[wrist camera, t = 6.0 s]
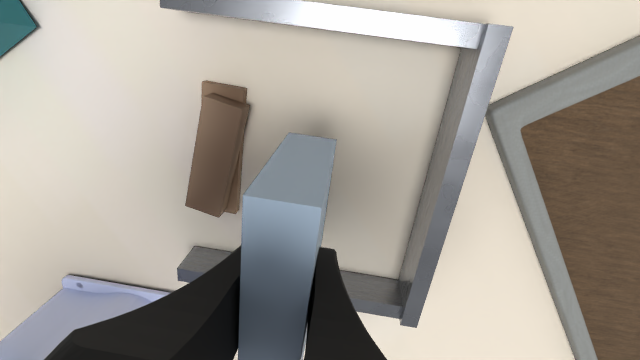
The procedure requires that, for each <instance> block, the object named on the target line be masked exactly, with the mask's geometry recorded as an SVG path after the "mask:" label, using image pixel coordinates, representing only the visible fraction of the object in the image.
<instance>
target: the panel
mask: <svg viewBox="0 0 640 360" xmlns="http://www.w3.org/2000/svg"><path fill="white" fill-rule="evenodd" d="M336 141H337V140H335V139H329V138H322V137H315V136H309V135H302V134H295V133H288V135H287V136H286V137H285V139H284V140H283V141H282V143H281V144H280V146H279V147H278V148H277V150H276V151H275V152H274V154H273V155H272V156H271V158H270V159H269V161H268V162H267V163H266V165H265V166H264V167H263V169H262V170H261V171H260V173H259V174H258V175H257V177H256V178H255V180H254V181H253V182H252V184H251V185H250V186H249V188H248V189H247V190H246V192H245V193H244V195H243V209H242V242H241V276H240V309H239V342H238V360H303V355H304V350H305V344H306V336H307V322H308V315H309V308H310V301H311V294H312V287H313V280H314V273H315V266H316V260H317V255H318V251H319V247H321V243H322V236H323V229H324V222H325V215H326V209H327V202H328V195H329V188H330V181H331V175H332V168H333V161H334V154H335V147H336Z"/></svg>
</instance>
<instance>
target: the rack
mask: <svg viewBox="0 0 640 360" xmlns="http://www.w3.org/2000/svg"><path fill="white" fill-rule="evenodd" d="M160 8H167V9H173V10H179V11H186V12H193V13H201V14H208V15H216V16H224V17H231V18H239V19H247V20H254V21H262V22H270V23H277V24H285V25H292V26H300V27H308V28H315V29H323V30H331V31H338V32H346V33H354V34H361V35H369V36H376V37H384V38H392V39H399V40H407V41H415V42H422V43H430V44H438V45H445V46H453V47H460V48H461V51H460V55H459V59H458V62H457V66H456V70H455V73H454V77H453V81H452V84H451V88H450V92H449V96H448V99H447V103H446V107H445V110H444V114H443V118H442V121H441V125H440V129H439V132H438V136H437V140H436V143H435V147H434V151H433V154H432V158H431V162H430V166H429V169H428V173H427V177H426V180H425V184H424V188H423V191H422V195H421V199H420V202H419V206H418V210H417V213H416V217H415V221H414V225H413V228H412V232H411V236H410V239H409V243H408V247H407V250H406V254H405V258H404V261H403V265H402V269H401V272H400V276H399V280H395V279H389V278H383V277H377V276H371V275H365V274H359V273H353V272H347V271H341V270H340V273H341V276H342V279H343V282H344V285H345V288H346V290H347V293H348V295H349V297H350V300H351V302H352V304H353V306H354V308H355V310H356V311H357V312H363V313H369V314H375V315H380V316H386V317H392V318H398V319H399V320H400V325H403V326H409V327H415V328H417V325H418V322H419V318H420V315H421V312H422V309H423V306H424V303H425V300H426V297H427V294H428V291H429V287H430V284H431V281H432V278H433V275H434V272H435V269H436V266H437V263H438V260H439V256H440V253H441V250H442V247H443V244H444V241H445V238H446V235H447V232H448V229H449V225H450V222H451V219H452V216H453V213H454V210H455V207H456V204H457V201H458V198H459V194H460V191H461V188H462V185H463V182H464V179H465V176H466V173H467V170H468V166H469V163H470V160H471V157H472V154H473V151H474V148H475V145H476V142H477V139H478V135H479V132H480V129H481V126H482V123H483V120H484V117H485V114H486V111H487V108H488V104H489V101H490V98H491V95H492V92H493V89H494V86H495V83H496V80H497V77H498V73H499V70H500V67H501V64H502V61H503V58H504V55H505V52H506V49H507V46H508V42H509V39H510V36H511V33H512V30H513V27H512V26H504V25H496V24H480V23H472V22H464V21H457V20H449V19H441V18H433V17H425V16H417V15H409V14H401V13H394V12H386V11H378V10H370V9H362V8H354V7H346V6H338V5H331V4H323V3H315V2H307V1H299V0H160ZM231 253H233V252H227V251H221V250H215V249H210V248H204V247H198V246H194V248H193V249H192V250H191V251H190V253H189V254H188V255H187V256H186V258H185V259H184V260H183V261H182V263H181V264H180V265H179V267H178V268H177V274H178V281H184V282H189V283H190V282H192V281H194V280H195V279H197V278H198V277H200V276H201V275H203V274H204V273H206V272H207V271H209V270H210V269H211V268H213V267H214V266H216V265H217V264H218V263H220V262H221V261H222V260H224V259H225V258H226V257H227V256H229V255H230V254H231Z"/></svg>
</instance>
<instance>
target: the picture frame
mask: <svg viewBox="0 0 640 360" xmlns="http://www.w3.org/2000/svg"><path fill="white" fill-rule="evenodd" d="M485 116H486V119H487V122H488V125H489V127H490V130H491V133H492V136H493V138H494V141H495V144H496V146H497V149H498V152H499V154H500V157H501V160H502V163H503V165H504V168H505V171H506V173H507V176H508V179H509V181H510V184H511V187H512V190H513V192H514V195H515V198H516V200H517V203H518V206H519V208H520V211H521V214H522V217H523V219H524V222H525V225H526V227H527V230H528V233H529V235H530V238H531V241H532V244H533V246H534V249H535V252H536V254H537V257H538V260H539V262H540V265H541V268H542V271H543V273H544V276H545V279H546V281H547V284H548V287H549V289H550V292H551V295H552V298H553V300H554V303H555V306H556V308H557V311H558V314H559V316H560V319H561V322H562V325H563V327H564V330H565V333H566V335H567V338H568V341H569V344H570V346H571V349H572V352H573V354H574V357H575V360H640V36H637V37H635V38H633V39H631V40H629V41H627V42H624V43H622V44H620V45H618V46H616V47H613V48H611V49H609V50H607V51H605V52H603V53H600V54H598V55H596V56H594V57H592V58H590V59H587V60H585V61H583V62H581V63H579V64H577V65H574V66H572V67H570V68H568V69H566V70H563V71H561V72H559V73H557V74H555V75H553V76H550V77H548V78H546V79H544V80H542V81H540V82H537V83H535V84H533V85H531V86H529V87H527V88H524V89H522V90H520V91H518V92H516V93H513V94H511V95H509V96H507V97H505V98H503V99H500V100H498V101H496V102H494V103H492V104H490V105H488V108H487V111H486V114H485Z"/></svg>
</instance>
